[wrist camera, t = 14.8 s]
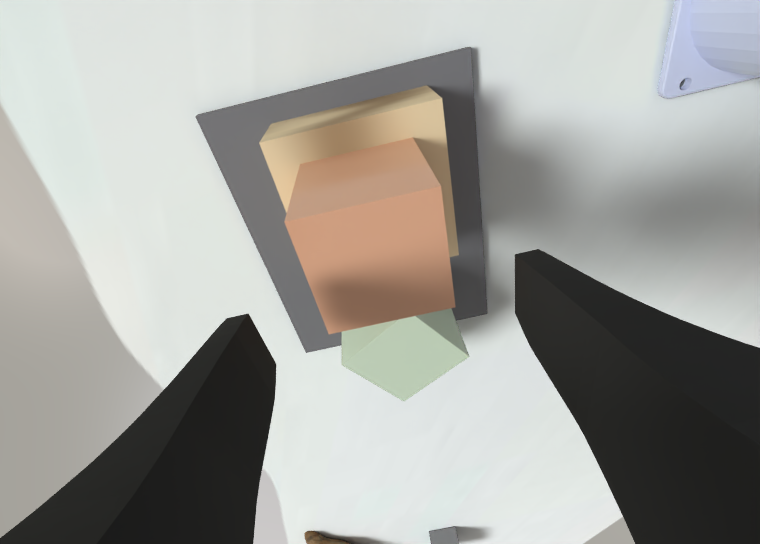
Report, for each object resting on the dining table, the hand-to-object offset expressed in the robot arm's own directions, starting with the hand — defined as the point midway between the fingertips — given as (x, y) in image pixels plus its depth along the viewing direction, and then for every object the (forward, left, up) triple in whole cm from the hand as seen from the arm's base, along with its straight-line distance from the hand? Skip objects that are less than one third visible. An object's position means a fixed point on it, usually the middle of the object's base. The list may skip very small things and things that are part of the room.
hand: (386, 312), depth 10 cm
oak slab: (0, 0, -10) cm, 10 cm away
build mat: (0, +3, -10) cm, 11 cm away
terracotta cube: (0, 0, -7) cm, 7 cm away
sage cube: (0, +8, -10) cm, 13 cm away
